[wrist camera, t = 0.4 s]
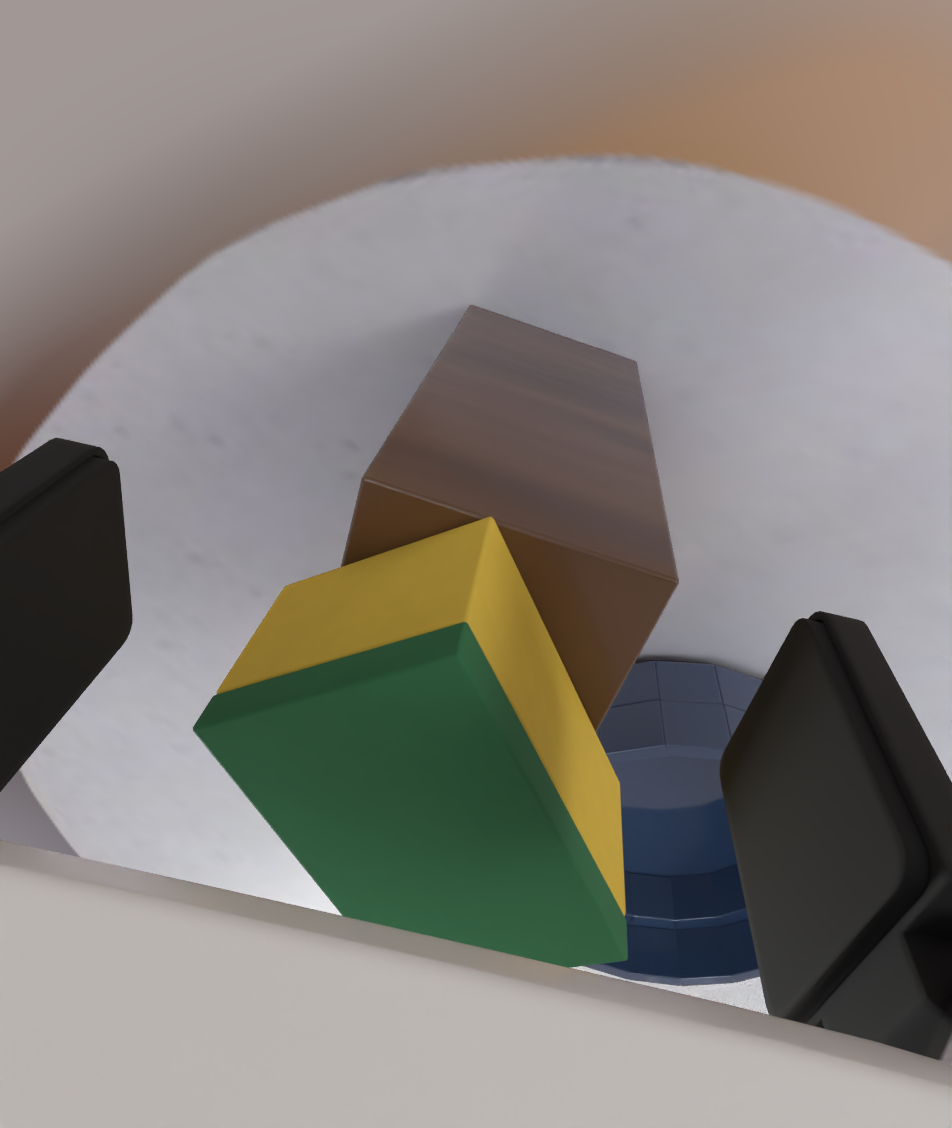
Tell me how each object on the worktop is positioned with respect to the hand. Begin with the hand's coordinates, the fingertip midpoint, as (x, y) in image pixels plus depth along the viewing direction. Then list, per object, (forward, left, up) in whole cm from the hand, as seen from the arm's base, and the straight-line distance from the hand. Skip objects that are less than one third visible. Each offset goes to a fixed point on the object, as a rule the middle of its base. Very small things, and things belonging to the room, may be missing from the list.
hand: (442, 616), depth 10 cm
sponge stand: (+4, +1, -17) cm, 18 cm away
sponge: (+4, +1, -3) cm, 5 cm away
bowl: (+18, +13, -17) cm, 28 cm away
